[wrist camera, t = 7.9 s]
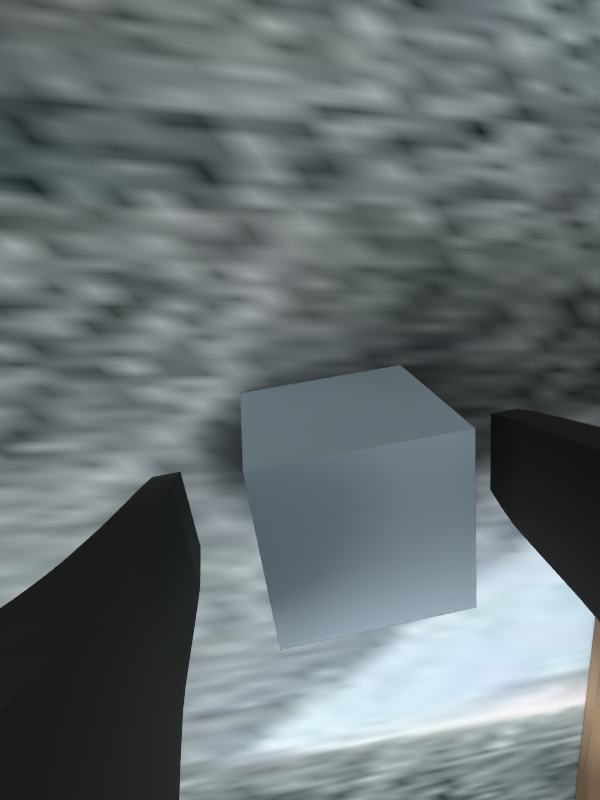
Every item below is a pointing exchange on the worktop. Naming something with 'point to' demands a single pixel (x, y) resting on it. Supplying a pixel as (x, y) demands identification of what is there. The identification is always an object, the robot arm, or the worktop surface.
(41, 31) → the worktop surface
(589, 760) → the board
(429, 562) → the slate grey cube
